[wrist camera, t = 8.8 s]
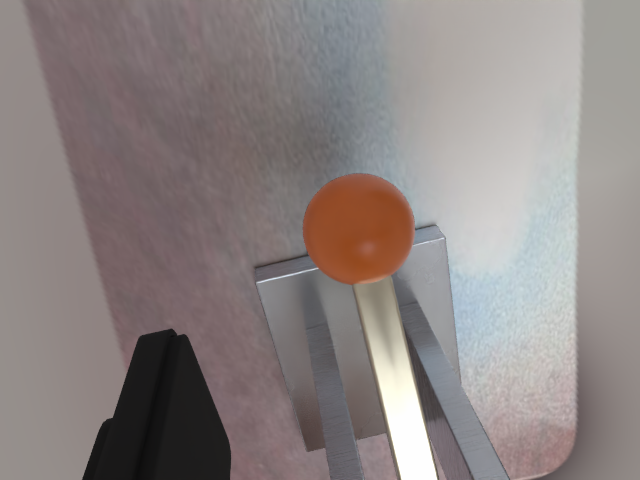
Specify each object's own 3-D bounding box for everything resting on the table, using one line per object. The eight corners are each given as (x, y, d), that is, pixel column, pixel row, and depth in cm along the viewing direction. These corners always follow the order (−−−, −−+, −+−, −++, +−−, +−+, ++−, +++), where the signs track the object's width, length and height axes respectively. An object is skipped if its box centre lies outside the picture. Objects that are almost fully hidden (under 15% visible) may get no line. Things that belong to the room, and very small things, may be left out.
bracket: (254, 268, 23) (263, 552, 12) (436, 224, 24) (616, 464, 12) (304, 434, 28) (344, 755, 17) (456, 397, 28) (601, 689, 17)
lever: (292, 191, 17) (289, 183, 14) (391, 168, 17) (410, 154, 14) (387, 589, 18) (405, 669, 14) (484, 565, 18) (524, 638, 14)
